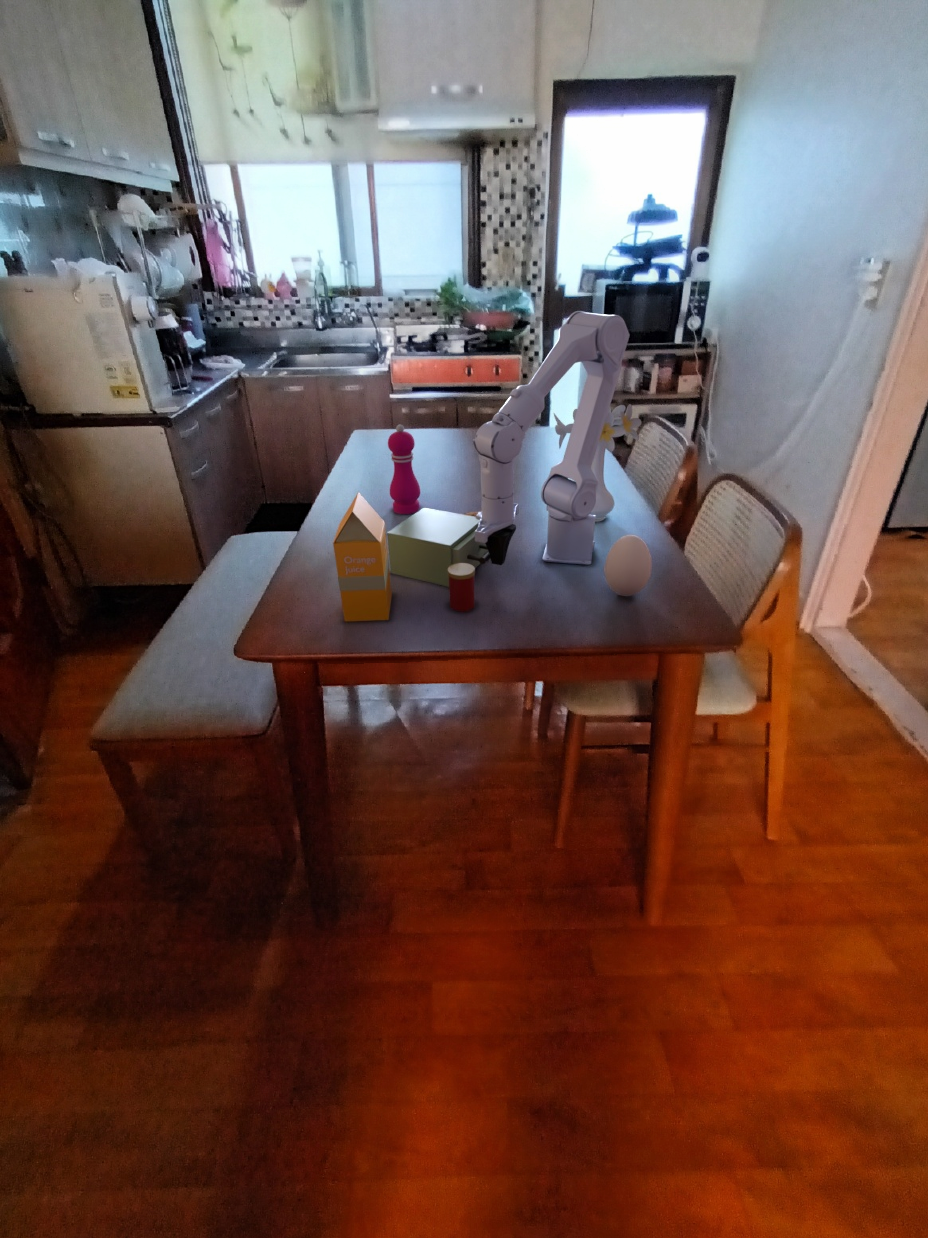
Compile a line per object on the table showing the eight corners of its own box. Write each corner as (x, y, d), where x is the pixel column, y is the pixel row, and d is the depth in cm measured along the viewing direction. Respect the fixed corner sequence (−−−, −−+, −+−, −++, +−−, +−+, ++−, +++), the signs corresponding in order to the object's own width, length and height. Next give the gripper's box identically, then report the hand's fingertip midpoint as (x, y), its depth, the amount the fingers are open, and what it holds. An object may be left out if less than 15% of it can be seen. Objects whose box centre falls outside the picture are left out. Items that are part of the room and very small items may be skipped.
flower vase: (544, 508, 147) (550, 398, 133) (622, 505, 147) (635, 396, 134) (553, 530, 136) (560, 414, 122) (637, 527, 136) (653, 411, 123)
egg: (593, 594, 112) (598, 536, 106) (618, 579, 116) (624, 522, 110) (631, 610, 107) (639, 550, 101) (655, 593, 111) (665, 535, 105)
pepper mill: (385, 512, 147) (376, 426, 136) (401, 501, 152) (395, 419, 142) (411, 517, 144) (404, 430, 133) (427, 506, 149) (422, 422, 139)
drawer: (506, 560, 122) (506, 528, 119) (477, 587, 113) (477, 554, 109) (434, 544, 129) (432, 514, 125) (402, 570, 120) (399, 537, 116)
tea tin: (477, 599, 111) (477, 563, 107) (472, 613, 107) (471, 576, 103) (452, 597, 112) (451, 561, 108) (446, 610, 108) (444, 574, 104)
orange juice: (392, 594, 113) (382, 489, 103) (389, 620, 106) (377, 510, 95) (349, 596, 113) (335, 491, 103) (343, 621, 106) (326, 511, 95)
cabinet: (484, 557, 125) (484, 518, 121) (452, 587, 115) (450, 545, 110) (426, 545, 131) (424, 507, 126) (390, 573, 121) (386, 532, 116)
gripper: (494, 477, 116) (495, 544, 123) (457, 504, 105) (461, 575, 112) (529, 482, 113) (528, 550, 120) (495, 510, 102) (496, 582, 109)
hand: (498, 562), depth 116 cm, fingers closed, pressing on drawer
